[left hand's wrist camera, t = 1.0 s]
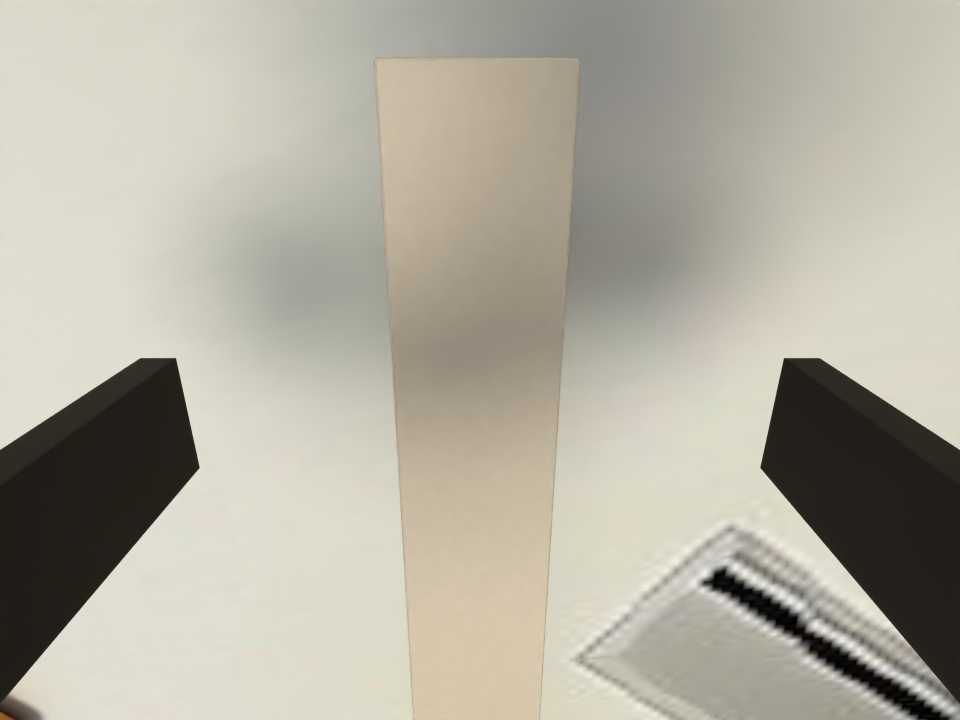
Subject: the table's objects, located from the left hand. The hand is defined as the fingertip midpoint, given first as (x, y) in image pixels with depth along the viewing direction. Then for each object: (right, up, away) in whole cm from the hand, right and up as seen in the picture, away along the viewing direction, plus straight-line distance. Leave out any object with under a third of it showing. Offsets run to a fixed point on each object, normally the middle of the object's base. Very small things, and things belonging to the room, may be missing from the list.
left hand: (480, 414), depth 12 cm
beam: (0, -17, +19) cm, 26 cm away
